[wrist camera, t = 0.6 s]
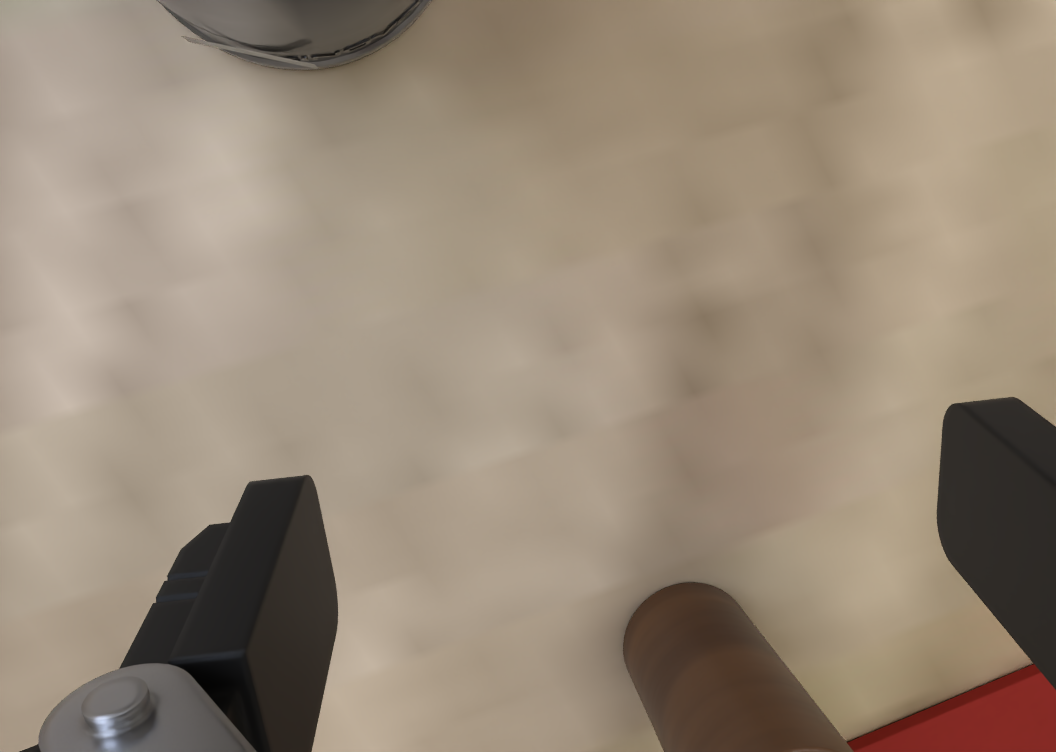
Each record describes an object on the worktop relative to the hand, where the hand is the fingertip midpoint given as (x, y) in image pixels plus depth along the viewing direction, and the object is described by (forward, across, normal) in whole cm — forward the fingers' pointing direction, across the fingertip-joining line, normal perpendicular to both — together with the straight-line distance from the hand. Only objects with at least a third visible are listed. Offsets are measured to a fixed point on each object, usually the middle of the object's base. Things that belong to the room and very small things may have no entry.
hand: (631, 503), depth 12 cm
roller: (+16, -4, +15) cm, 22 cm away
